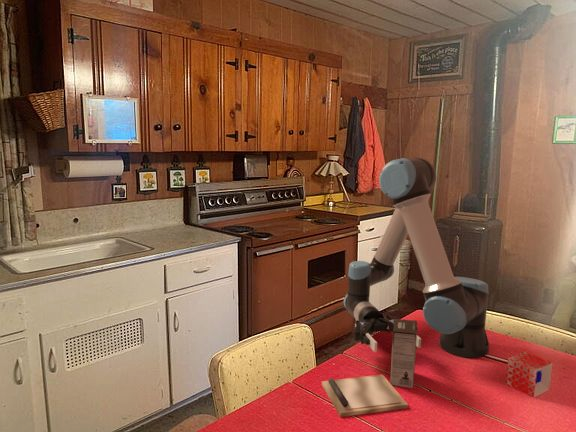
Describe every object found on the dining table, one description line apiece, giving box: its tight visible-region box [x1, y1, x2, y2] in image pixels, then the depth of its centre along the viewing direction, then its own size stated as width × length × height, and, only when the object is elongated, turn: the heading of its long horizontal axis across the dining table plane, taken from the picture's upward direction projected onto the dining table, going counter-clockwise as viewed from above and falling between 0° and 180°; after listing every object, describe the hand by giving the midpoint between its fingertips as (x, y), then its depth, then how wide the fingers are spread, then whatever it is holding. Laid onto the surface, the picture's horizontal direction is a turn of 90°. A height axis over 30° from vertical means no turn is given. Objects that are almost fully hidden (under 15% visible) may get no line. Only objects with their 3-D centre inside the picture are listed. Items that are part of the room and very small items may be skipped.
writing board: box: [321, 374, 409, 418], centre depth 120 cm, size 18×15×3 cm
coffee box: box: [389, 318, 418, 389], centre depth 128 cm, size 9×6×16 cm
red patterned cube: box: [505, 351, 553, 398], centre depth 125 cm, size 8×8×8 cm
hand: (398, 345), depth 130 cm, fingers open, 13 cm apart
